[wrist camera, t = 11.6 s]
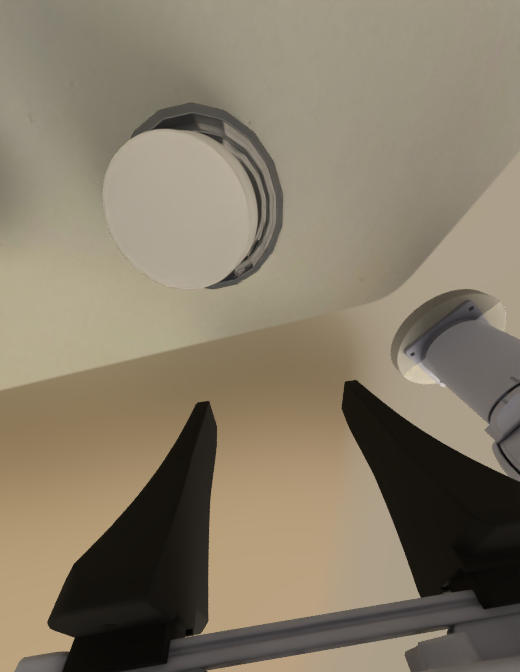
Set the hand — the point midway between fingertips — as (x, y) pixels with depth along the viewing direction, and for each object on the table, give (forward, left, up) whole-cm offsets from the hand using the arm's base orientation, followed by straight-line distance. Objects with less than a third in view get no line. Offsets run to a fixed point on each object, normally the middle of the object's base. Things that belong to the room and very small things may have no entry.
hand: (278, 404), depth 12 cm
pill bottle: (+8, -4, -10) cm, 14 cm away
